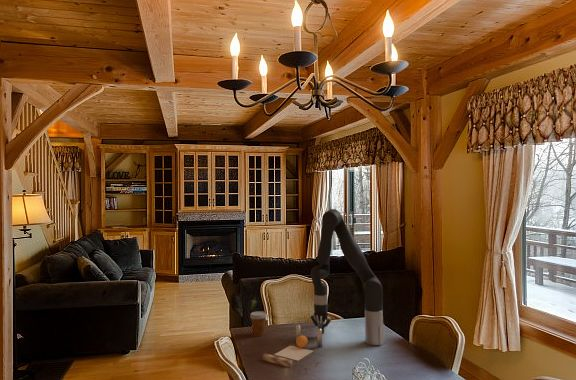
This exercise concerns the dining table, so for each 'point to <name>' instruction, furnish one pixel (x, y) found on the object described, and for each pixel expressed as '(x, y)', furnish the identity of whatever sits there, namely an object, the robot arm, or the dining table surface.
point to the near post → (319, 337)
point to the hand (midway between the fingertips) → (321, 334)
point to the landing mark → (294, 353)
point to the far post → (298, 330)
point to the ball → (302, 341)
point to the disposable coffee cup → (258, 322)
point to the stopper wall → (278, 360)
